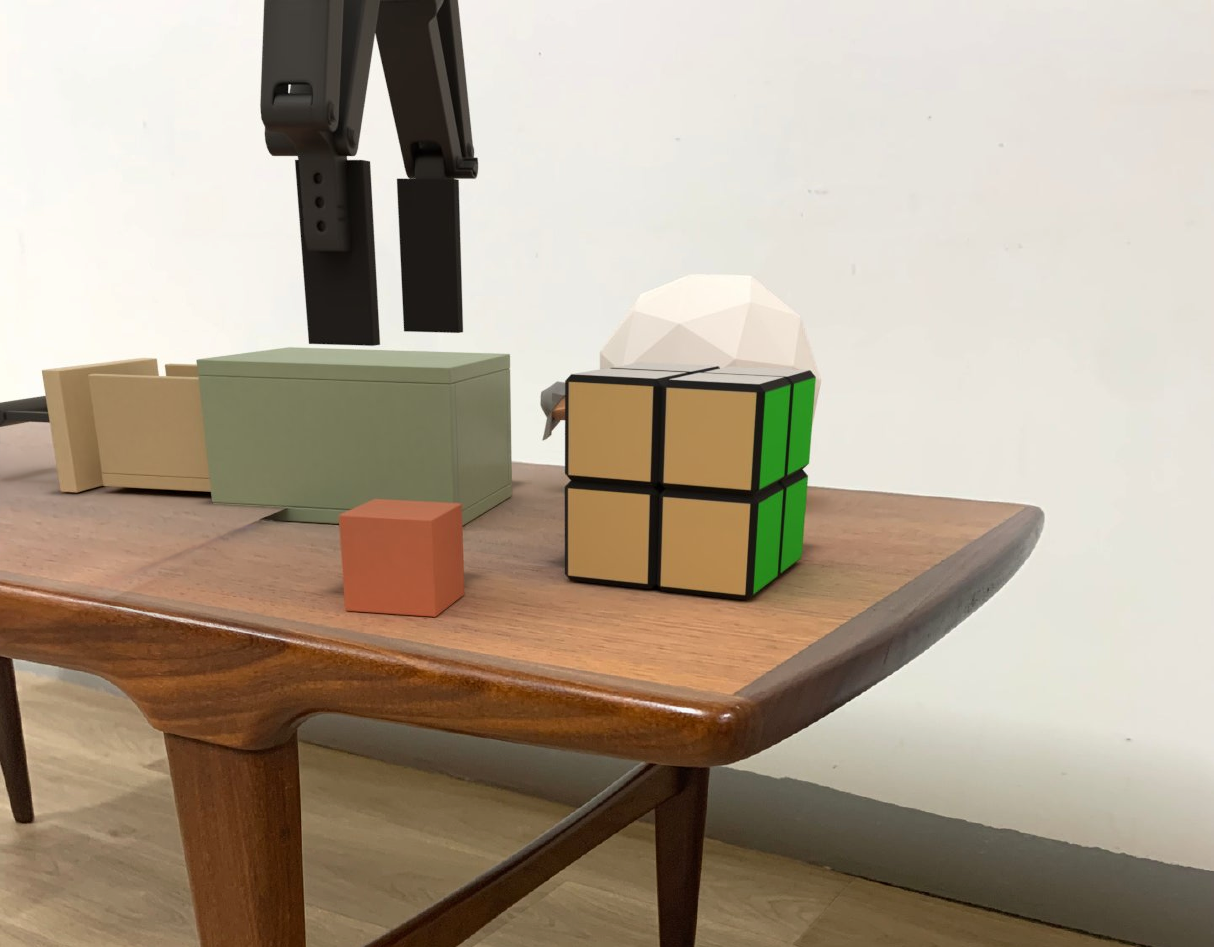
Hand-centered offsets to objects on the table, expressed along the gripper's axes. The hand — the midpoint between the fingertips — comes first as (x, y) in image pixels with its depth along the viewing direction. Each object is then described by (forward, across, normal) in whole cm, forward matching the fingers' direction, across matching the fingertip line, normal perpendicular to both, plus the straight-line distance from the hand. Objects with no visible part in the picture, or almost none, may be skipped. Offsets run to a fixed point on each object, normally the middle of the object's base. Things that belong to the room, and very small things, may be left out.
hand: (393, 337), depth 55 cm
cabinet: (+12, +24, +11) cm, 28 cm away
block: (+12, 0, 0) cm, 12 cm away
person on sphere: (+12, +33, -8) cm, 36 cm away
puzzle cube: (+12, +10, -12) cm, 20 cm away
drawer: (+11, +23, +26) cm, 37 cm away
